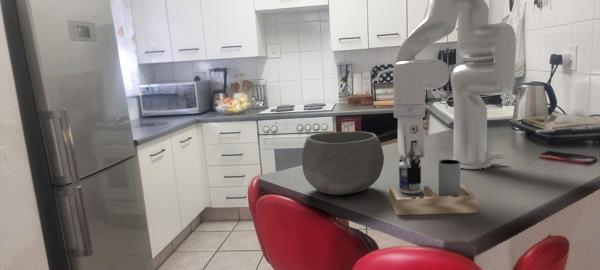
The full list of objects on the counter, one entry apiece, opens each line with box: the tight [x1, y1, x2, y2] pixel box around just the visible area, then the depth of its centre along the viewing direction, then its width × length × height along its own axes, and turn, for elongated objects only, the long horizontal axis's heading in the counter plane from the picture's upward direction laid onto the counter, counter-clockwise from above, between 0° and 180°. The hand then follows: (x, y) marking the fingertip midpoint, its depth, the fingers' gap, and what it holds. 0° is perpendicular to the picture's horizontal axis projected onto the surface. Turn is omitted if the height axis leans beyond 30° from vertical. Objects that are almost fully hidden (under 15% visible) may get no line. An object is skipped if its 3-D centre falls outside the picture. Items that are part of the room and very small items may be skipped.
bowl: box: [301, 131, 385, 196], centre depth 103 cm, size 21×21×15 cm
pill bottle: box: [398, 155, 422, 195], centre depth 102 cm, size 5×5×10 cm
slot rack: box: [389, 184, 479, 216], centre depth 90 cm, size 17×9×4 cm, turn 87°
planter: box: [438, 158, 461, 196], centre depth 89 cm, size 4×4×10 cm
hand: (409, 178), depth 102 cm, fingers open, 8 cm apart
